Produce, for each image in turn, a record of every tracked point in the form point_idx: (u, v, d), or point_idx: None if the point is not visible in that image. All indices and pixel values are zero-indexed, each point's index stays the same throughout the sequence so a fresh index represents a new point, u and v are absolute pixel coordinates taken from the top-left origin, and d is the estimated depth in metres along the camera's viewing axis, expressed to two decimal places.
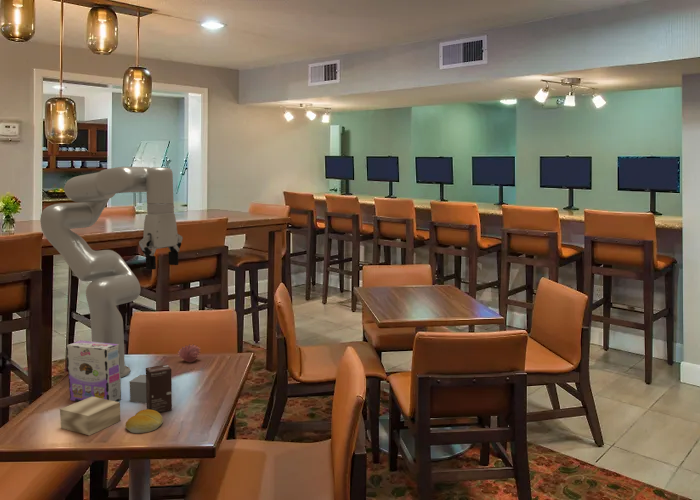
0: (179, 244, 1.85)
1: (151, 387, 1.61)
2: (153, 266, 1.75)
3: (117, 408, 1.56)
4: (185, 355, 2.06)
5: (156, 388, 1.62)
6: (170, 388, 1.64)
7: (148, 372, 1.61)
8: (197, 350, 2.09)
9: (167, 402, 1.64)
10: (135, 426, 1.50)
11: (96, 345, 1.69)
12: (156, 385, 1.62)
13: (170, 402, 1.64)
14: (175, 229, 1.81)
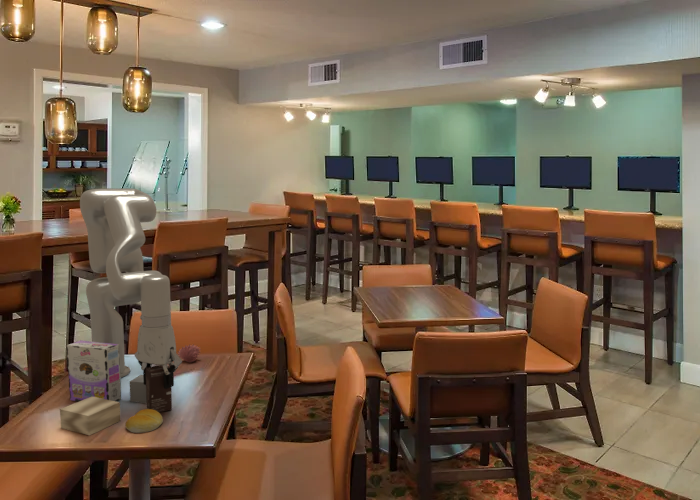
0: None
1: (151, 387, 1.61)
2: None
3: (117, 408, 1.56)
4: (185, 355, 2.06)
5: (156, 388, 1.62)
6: (170, 388, 1.64)
7: (148, 372, 1.61)
8: (197, 350, 2.09)
9: (167, 402, 1.64)
10: (135, 426, 1.50)
11: (96, 345, 1.69)
12: (156, 385, 1.62)
13: (170, 402, 1.64)
14: None
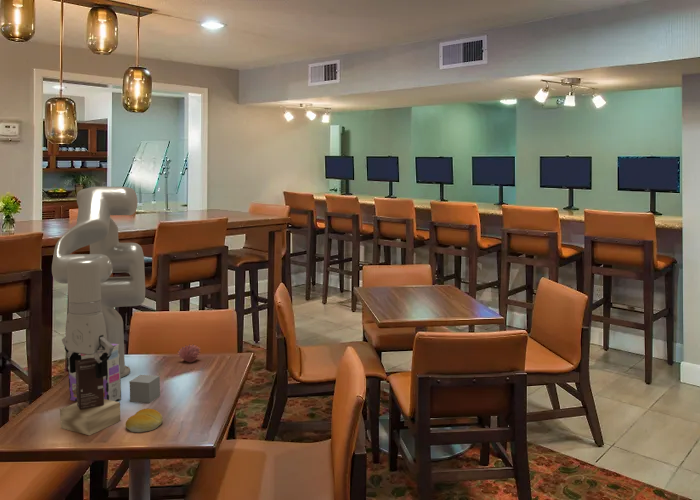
0: None
1: (80, 381, 1.51)
2: None
3: (117, 408, 1.56)
4: (185, 355, 2.06)
5: (86, 382, 1.52)
6: (102, 382, 1.54)
7: (77, 365, 1.51)
8: (197, 350, 2.09)
9: (99, 397, 1.54)
10: (135, 425, 1.50)
11: None
12: (85, 378, 1.51)
13: (102, 397, 1.54)
14: None
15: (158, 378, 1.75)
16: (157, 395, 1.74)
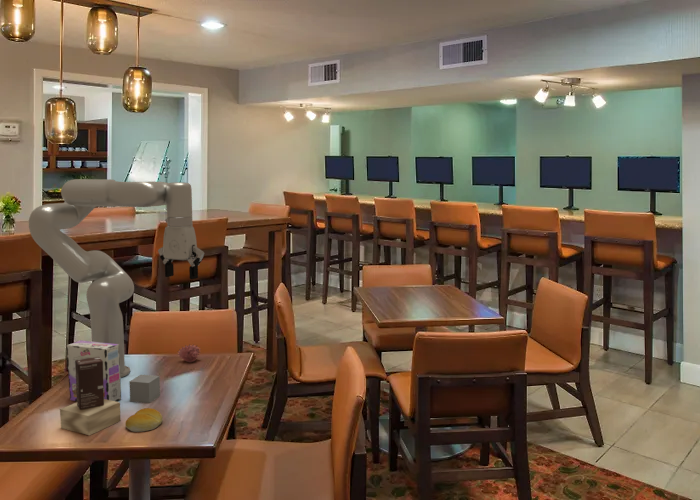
0: None
1: (80, 381, 1.51)
2: None
3: (117, 408, 1.56)
4: (185, 355, 2.06)
5: (86, 382, 1.52)
6: (102, 382, 1.54)
7: (77, 365, 1.51)
8: (197, 350, 2.09)
9: (99, 397, 1.54)
10: (135, 425, 1.50)
11: (96, 345, 1.69)
12: (85, 378, 1.51)
13: (102, 397, 1.54)
14: None
15: (158, 378, 1.75)
16: (157, 395, 1.74)
